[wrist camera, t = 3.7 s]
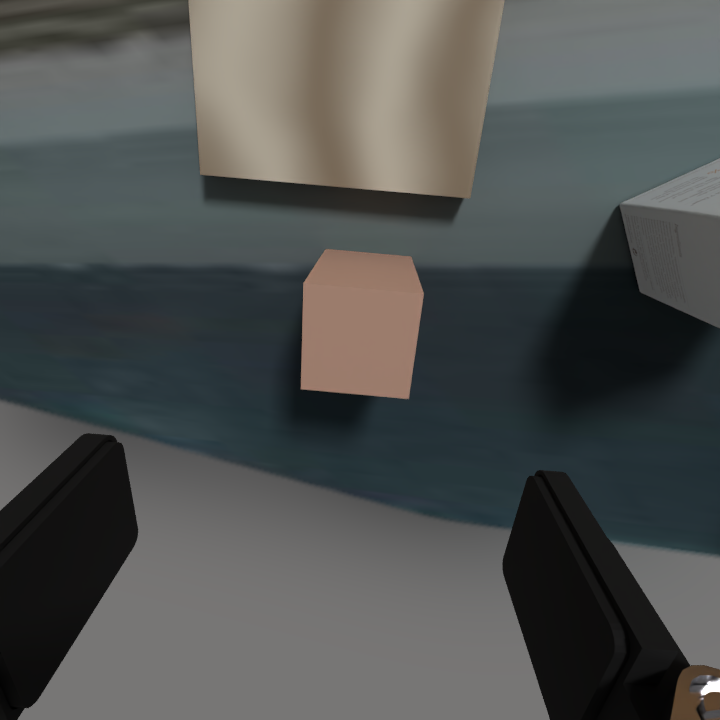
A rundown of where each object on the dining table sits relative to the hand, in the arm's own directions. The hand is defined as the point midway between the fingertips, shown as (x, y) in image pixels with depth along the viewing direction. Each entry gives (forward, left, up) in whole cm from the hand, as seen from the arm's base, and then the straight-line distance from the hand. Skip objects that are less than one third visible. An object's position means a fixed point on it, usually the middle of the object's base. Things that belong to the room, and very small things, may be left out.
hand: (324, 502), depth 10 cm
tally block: (0, 0, -18) cm, 18 cm away
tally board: (+2, -14, -18) cm, 23 cm away
